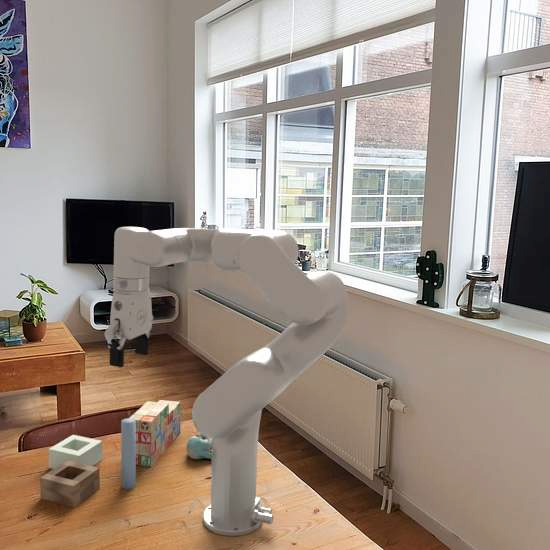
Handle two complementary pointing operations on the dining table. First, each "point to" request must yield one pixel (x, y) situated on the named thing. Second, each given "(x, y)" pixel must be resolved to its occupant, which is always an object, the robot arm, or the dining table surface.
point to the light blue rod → (128, 453)
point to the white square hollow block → (76, 451)
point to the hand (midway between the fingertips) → (129, 359)
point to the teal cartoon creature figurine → (199, 447)
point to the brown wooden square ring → (70, 483)
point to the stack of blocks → (155, 429)
